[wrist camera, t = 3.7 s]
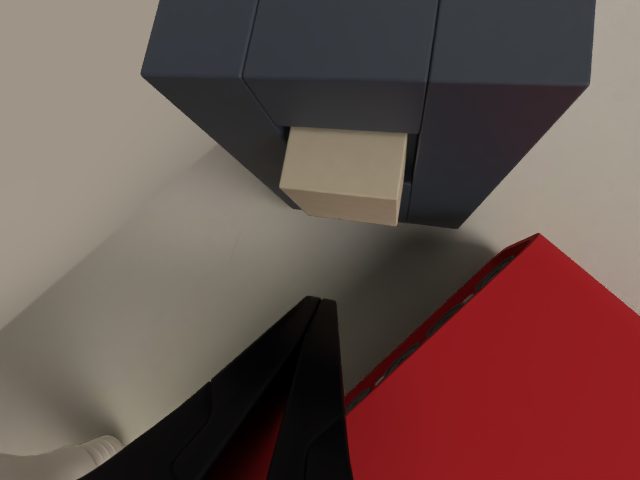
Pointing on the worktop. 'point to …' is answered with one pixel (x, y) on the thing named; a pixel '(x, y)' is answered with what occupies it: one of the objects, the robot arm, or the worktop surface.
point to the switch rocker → (346, 173)
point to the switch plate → (379, 82)
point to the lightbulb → (60, 461)
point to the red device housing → (507, 382)
